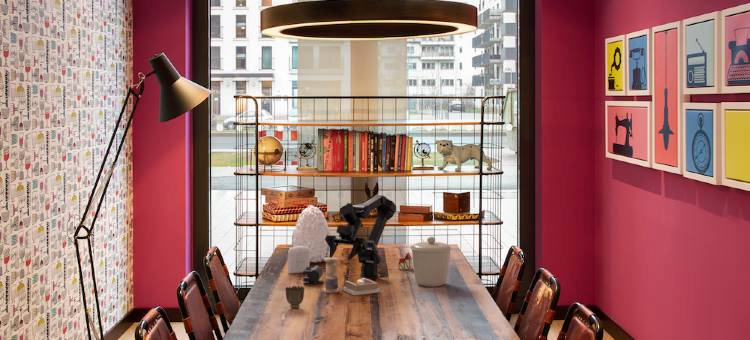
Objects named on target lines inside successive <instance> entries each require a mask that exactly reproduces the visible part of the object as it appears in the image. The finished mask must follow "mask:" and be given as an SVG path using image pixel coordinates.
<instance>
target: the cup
mask: <svg viewBox="0 0 750 340" xmlns="http://www.w3.org/2000/svg"><path fill="white" fill-rule="evenodd" d="M285 297H286V301H287V303H288V304H289V307H290V308H291V309H294V310H297V309H299V308H300V307H301V306H300V305H301V303H302V302H303V300H304V297H305V287H304V286H303V285H301V286H299V285H297V286H296V285H292V286H289V287H288V286H286V287H285Z"/></svg>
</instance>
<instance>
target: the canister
mask: <svg viewBox="0 0 750 340" xmlns="http://www.w3.org/2000/svg"><path fill="white" fill-rule="evenodd" d="M410 249H411V258H412V268H413V274H414V280H415V282H416V284H417V285H419V286H421V287H427V288H434V287H435V288H437V287H441V286H444V285H445V283H447V278H448V274H449V266H450V258H451V251H452V249H453V247H452V246H450V245H449V244H447V243H445V242H439V241H436V238H435V237H434V236H429V237H427V239H426V241H421V242H416V243H414V244H413V245H411V246H410Z"/></svg>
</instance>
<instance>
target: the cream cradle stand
mask: <svg viewBox="0 0 750 340" xmlns="http://www.w3.org/2000/svg"><path fill="white" fill-rule="evenodd" d="M343 292H345V293H348V294H350V295H353V296H358V295H367V294H377V293H380V292H381V291H380V288H379V283H378V282H376V281H374V280H372V279H370V278H366V279H364V284H359V285H358V284H357V283H355V282H352V281H349V280H345V281H344V286H343Z"/></svg>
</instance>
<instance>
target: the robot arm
mask: <svg viewBox="0 0 750 340" xmlns="http://www.w3.org/2000/svg"><path fill="white" fill-rule="evenodd" d="M375 209H376V213H377V217H376V220H375V221H374V224H373V227H372V229H371V230H370V231H371V232H370V234H369V236H368V238H367V240H366V239H365V237H360V236H359V230H360V228H363V227H364V225H363V221H362V220H363V219H364V220H365V219H368V217H369V216H370V215H371V212H372V211H374V210H375ZM396 212H397V205H396V204H395V202H394V201H393V200H391V199H389V198H387V196H385V195H383V194H382V195H381V194H380V195H379V194H376V195H373V197H371V198H370V199H368V200H366V201H365V202H364V203H358V204H354V205H353V204H352V203H350V202H347V203H346V204H345V205H343V206H342V207H340V209H339V214H340V215H341V217H342V218H343V220H344V221H345V223H347V224H346V225H341V224H337V227H336V231H335V232H336V233H337V234H338V236H339V238H337V236H336V235H334V234H330V235H327V236H326V238H325V240H326V242H327V244H328V246H330V253H329V257H334V254H335V253H336V251H337V250H338V246H339V244H341V245H347V246H352V249H351V250H350V252H349V255H348V260H349V261H351V260H352V259H353V258H354V257H356V256H357V259H358V263H359V264H361V266H360V275H359V276H361V277H362V278H366V279H370V278H379V275H378V265H380V264H381V257H380V255H379V249H378V244H379V242H380V239H381V237H382V235H383V232H384V229H385V227H386V225H387V222H388V221H389V220H390V219H392V218H393V217H394V216H395V213H396Z"/></svg>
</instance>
